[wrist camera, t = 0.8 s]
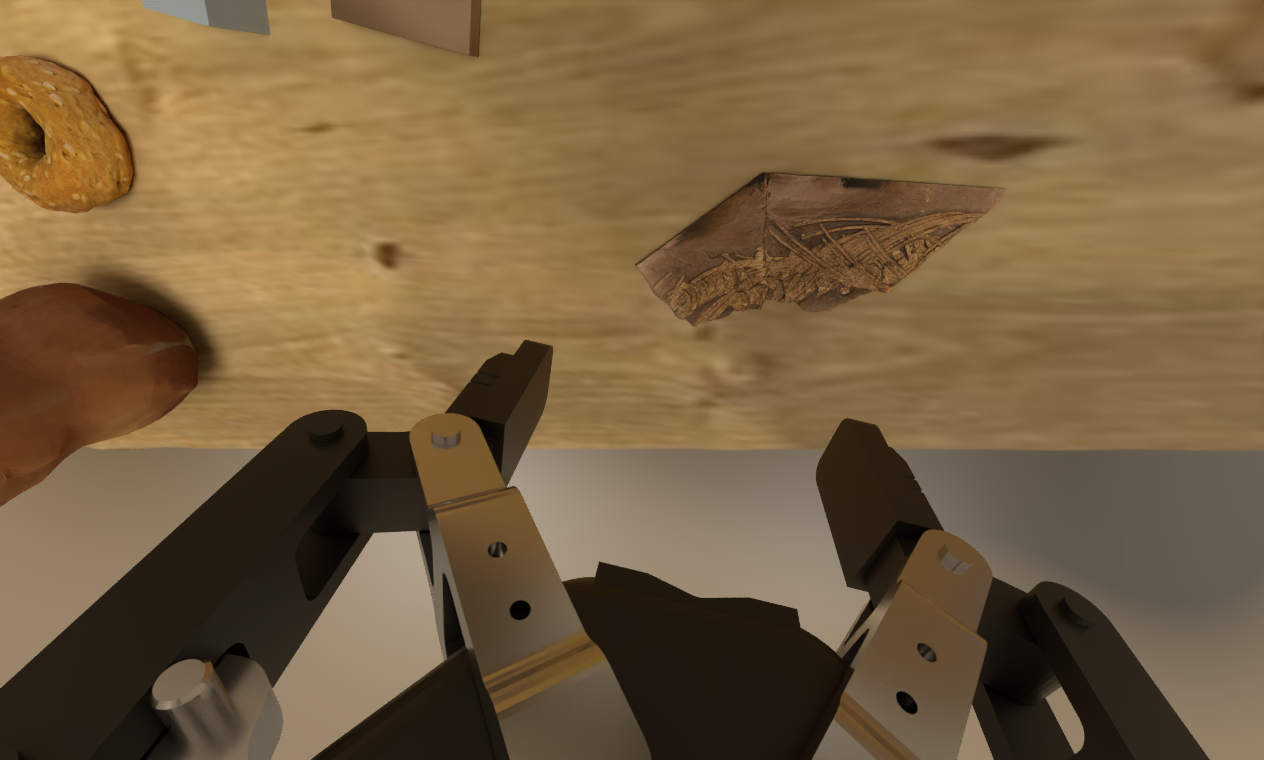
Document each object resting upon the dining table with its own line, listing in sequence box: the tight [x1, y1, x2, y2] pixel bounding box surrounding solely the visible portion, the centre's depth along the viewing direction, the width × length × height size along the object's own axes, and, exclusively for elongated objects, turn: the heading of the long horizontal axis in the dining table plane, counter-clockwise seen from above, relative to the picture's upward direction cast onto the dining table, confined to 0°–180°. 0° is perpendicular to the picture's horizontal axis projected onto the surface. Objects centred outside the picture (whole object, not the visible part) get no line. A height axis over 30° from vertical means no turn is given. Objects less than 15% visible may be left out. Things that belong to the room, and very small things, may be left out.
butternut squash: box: [0, 283, 198, 506], centre depth 36 cm, size 14×13×25 cm
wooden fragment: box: [636, 173, 1006, 327], centre depth 35 cm, size 26×11×1 cm, turn 101°
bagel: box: [0, 56, 133, 213], centre depth 36 cm, size 10×11×5 cm
